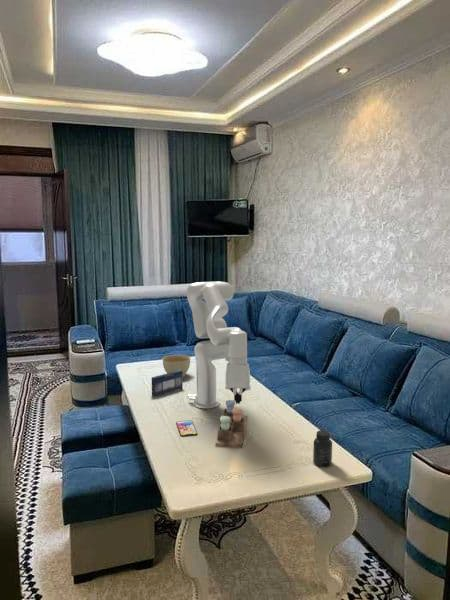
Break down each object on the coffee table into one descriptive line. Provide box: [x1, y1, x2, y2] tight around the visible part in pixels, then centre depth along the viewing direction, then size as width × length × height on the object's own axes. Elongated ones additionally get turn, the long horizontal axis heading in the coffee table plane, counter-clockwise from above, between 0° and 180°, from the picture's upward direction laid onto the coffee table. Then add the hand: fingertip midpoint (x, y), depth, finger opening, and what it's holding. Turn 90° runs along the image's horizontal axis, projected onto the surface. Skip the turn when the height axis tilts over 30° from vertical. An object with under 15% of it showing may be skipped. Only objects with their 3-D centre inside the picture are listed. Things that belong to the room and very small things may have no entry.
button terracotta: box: [232, 407, 243, 422], centre depth 204 cm, size 4×4×6 cm
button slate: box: [225, 399, 236, 413], centre depth 213 cm, size 4×4×6 cm
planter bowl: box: [162, 354, 191, 378], centre depth 277 cm, size 16×16×11 cm
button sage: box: [219, 415, 231, 431], centre depth 195 cm, size 4×4×6 cm
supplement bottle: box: [312, 429, 333, 468], centre depth 177 cm, size 7×7×12 cm
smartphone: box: [175, 419, 198, 438], centre depth 207 cm, size 7×1×15 cm
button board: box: [215, 408, 248, 448], centre depth 205 cm, size 10×29×5 cm, turn 173°
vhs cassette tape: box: [151, 370, 184, 398], centre depth 251 cm, size 18×3×10 cm, turn 131°
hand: (238, 402), depth 202 cm, fingers closed
